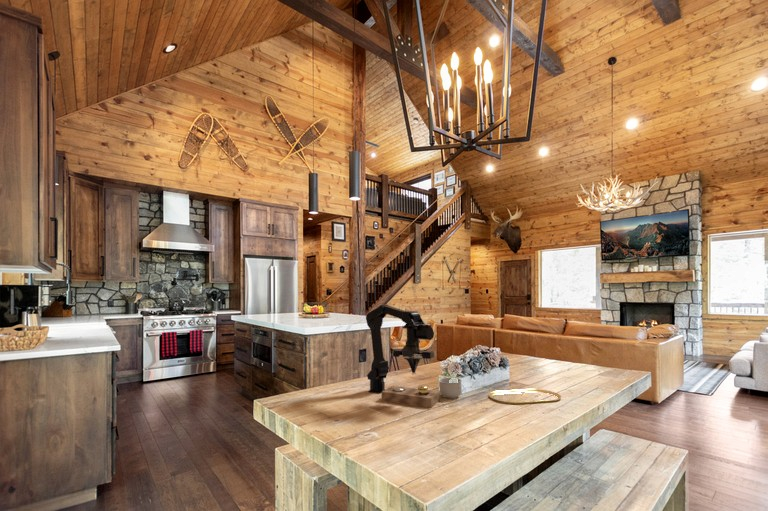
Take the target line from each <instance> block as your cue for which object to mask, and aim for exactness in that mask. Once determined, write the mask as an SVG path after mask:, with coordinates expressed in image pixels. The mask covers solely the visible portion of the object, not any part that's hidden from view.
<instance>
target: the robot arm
mask: <svg viewBox="0 0 768 511" xmlns="http://www.w3.org/2000/svg"><path fill="white" fill-rule="evenodd" d="M387 315H388V316H391V317H395V318H397V319H400V320H401V321H402V322H403V323H405V324H404V326H402V328H403V329H406V341H405V345H404V346H403V347H402V348H401V349H400V348H399V349H394V350H393V352H392V357H395V358H399V357H400V356H402V357H403V359H404V360H406V361H407V362H408V363H407V364H409V367H410V370H411V373H412V374H415V373H416V370H417V368H418V365H419V363H420V361H421V360H422V359H427V360H431V359H433V358H435V353H434V351H433V350H424V351H421V349H420V343H421V340H427V341H432V340H433V339H434V335H435V331H434V329H433V328H432V325H431V324H426V323H425V321H424V320H423V318H422V316H421V313H420V312H419V311H417V310H416V311H415V310H403V309H400V308H398V307H395V306H392V305H389V304H380V305H379V306H378V307H376V308H375V309H373V310H371V311H370V312H367V314H366V316H365V320H366V324H367V327H368V328H369V329H370V335H371V345H372V346H371V347H372V354H373V359H372V362H371V367H370V368H371V370H370V371H369V372H368V373H367V374H366V377H367V380H369V390H368V392H369V393H375V394H382V391H384V390H386V389H385V385H386V384H385V381H384V380H385V379H386V378H387V376H388V373H389V370H390V367H389V361H388V360H386V359H385V358H384V349H383V341H382V332H381V329H382V326H383V323H384V322H383V321H384V320H383V319H384V318H386V317H387Z"/></svg>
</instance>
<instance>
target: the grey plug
mask: <svg viewBox="0 0 768 511" xmlns="http://www.w3.org/2000/svg"><path fill="white" fill-rule="evenodd" d="M400 387H401V386H398V387H397V388H394V391H396V392H403V391H404V388H400Z"/></svg>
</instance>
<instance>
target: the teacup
mask: <svg viewBox="0 0 768 511" xmlns="http://www.w3.org/2000/svg"><path fill="white" fill-rule="evenodd" d="M451 378H452V376H451V377H450V376H449V377H447V376H443V377H442V378H440V379H439V380H438V384H439V385H438V386H439V392H440V394H441V395H442V397H444V398H446V399H456V398H458V397H459V396H460V395H461V394H462V390H463V386H462V379H461V378H459V377H456V378H457V379H458V383H449V380H450V379H451Z"/></svg>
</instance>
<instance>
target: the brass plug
mask: <svg viewBox="0 0 768 511" xmlns="http://www.w3.org/2000/svg"><path fill="white" fill-rule="evenodd" d="M417 389H419V395H427V390H429V386H428V385H426V384H425V385H424V384H421V385H418V386H417Z"/></svg>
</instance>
